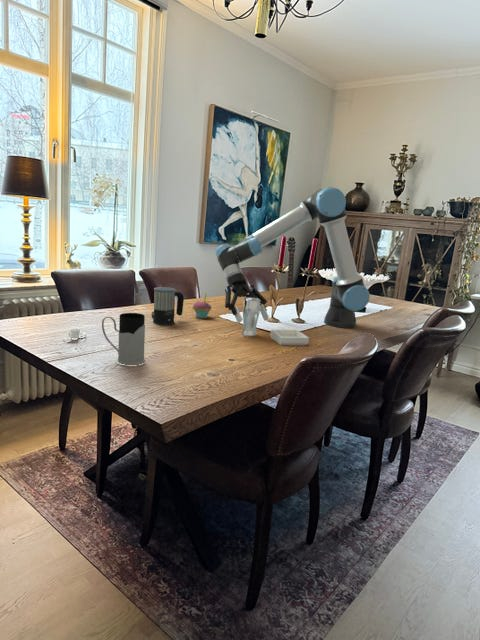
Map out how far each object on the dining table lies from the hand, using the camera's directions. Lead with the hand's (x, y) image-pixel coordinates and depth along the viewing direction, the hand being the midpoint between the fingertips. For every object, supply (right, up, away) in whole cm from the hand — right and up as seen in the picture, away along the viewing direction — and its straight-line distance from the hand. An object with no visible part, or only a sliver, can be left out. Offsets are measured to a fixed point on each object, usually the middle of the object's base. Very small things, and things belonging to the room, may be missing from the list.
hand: (253, 320), depth 175 cm
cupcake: (-24, +1, +27) cm, 36 cm away
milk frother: (-40, 0, +15) cm, 43 cm away
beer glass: (-2, -6, +3) cm, 7 cm away
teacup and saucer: (-61, -8, -21) cm, 65 cm away
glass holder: (-42, -13, -38) cm, 59 cm away
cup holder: (+14, -8, -1) cm, 16 cm away
